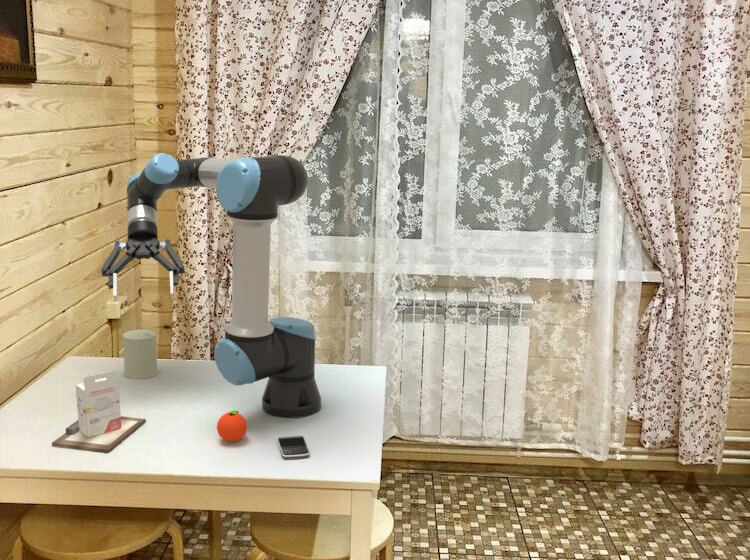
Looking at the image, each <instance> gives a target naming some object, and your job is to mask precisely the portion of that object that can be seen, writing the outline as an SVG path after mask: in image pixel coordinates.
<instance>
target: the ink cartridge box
mask: <svg viewBox="0 0 750 560" xmlns="http://www.w3.org/2000/svg"><path fill="white" fill-rule="evenodd" d="M75 393H76V395H75V396H76V406H77V420H78V422H79V432H81V433H82V434H84V435H85V436H87V437H92V436H95V435H99V434H102V433H106V432H110V431H113V430H117V429H120V428H121V401H120V385H119V382H118V371H117V370H116V369H114V370H111V371H105V372H99V373H95V374H91V375H88V376H84V377H83V382H82V383H78V384H75Z"/></svg>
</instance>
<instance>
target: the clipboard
mask: <svg viewBox="0 0 750 560" xmlns="http://www.w3.org/2000/svg"><path fill="white" fill-rule="evenodd" d="M145 423H147V419H146V418H141V417H140V418H139V417H132V416H131V417H130V416H123V415H122V416H121V428H120V429H117V430H113V431H110V432H106V433H102V434H99V435H95V436H92V437H87V436H85V435H84V434H82V433H81V432H79V422H78V419H77V420H76V421H74V422H73V423H71V424H70V425H69V426H67V427H66V428H65V433H63V434H62V435H61V436H59V437H58V438H56V439H55V440H54V441H52V442H51V447H56V446H58V447H57V448H64V447H66V448H65V449H72V450H82V451H89V452H95V453H105V454H110V452H112V451H113V450H114V449H115V448H116V447H118V446H119V445H121V443H123V442H124V441H125V440H126V439H127V438H129V437H130V436H131V435H132V434H134V433H135V432H136V431H137V430H138V429H140V427H142V426H143V425H145Z"/></svg>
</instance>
